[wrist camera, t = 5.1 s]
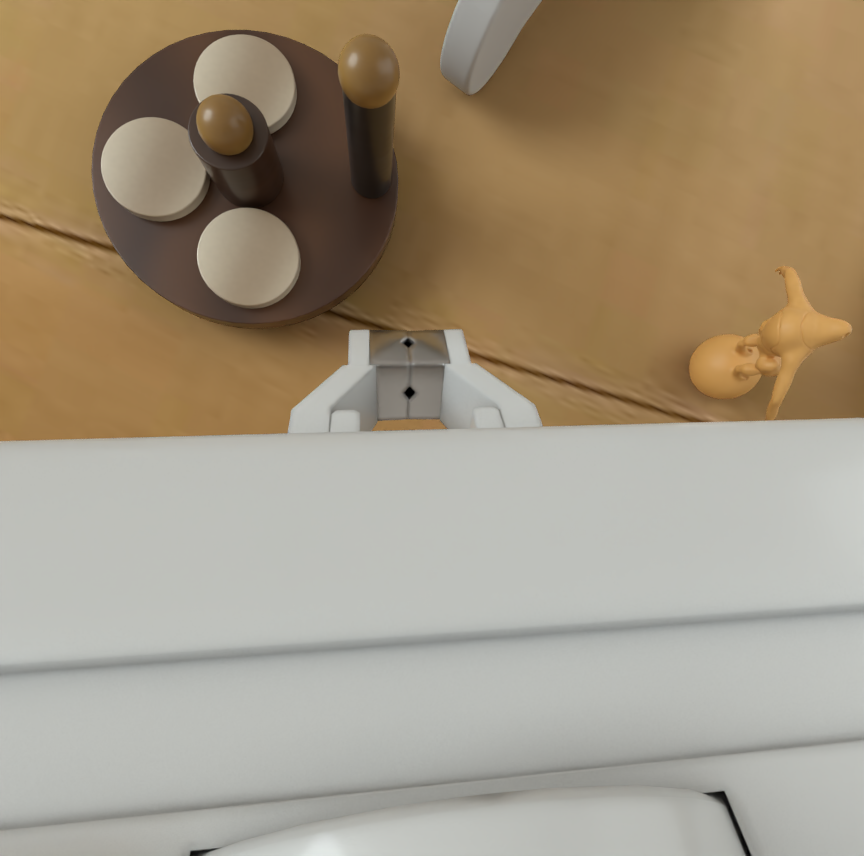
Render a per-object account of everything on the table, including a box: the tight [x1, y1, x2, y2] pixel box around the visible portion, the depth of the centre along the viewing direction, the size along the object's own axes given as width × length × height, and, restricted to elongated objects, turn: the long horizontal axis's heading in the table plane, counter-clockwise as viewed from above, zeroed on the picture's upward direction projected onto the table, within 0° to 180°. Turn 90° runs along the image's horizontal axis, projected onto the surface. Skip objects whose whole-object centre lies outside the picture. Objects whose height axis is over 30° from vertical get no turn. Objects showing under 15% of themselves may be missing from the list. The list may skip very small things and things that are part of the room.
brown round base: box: [92, 30, 400, 328], centre depth 23 cm, size 16×16×11 cm
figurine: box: [689, 266, 852, 421], centre depth 27 cm, size 8×6×12 cm
